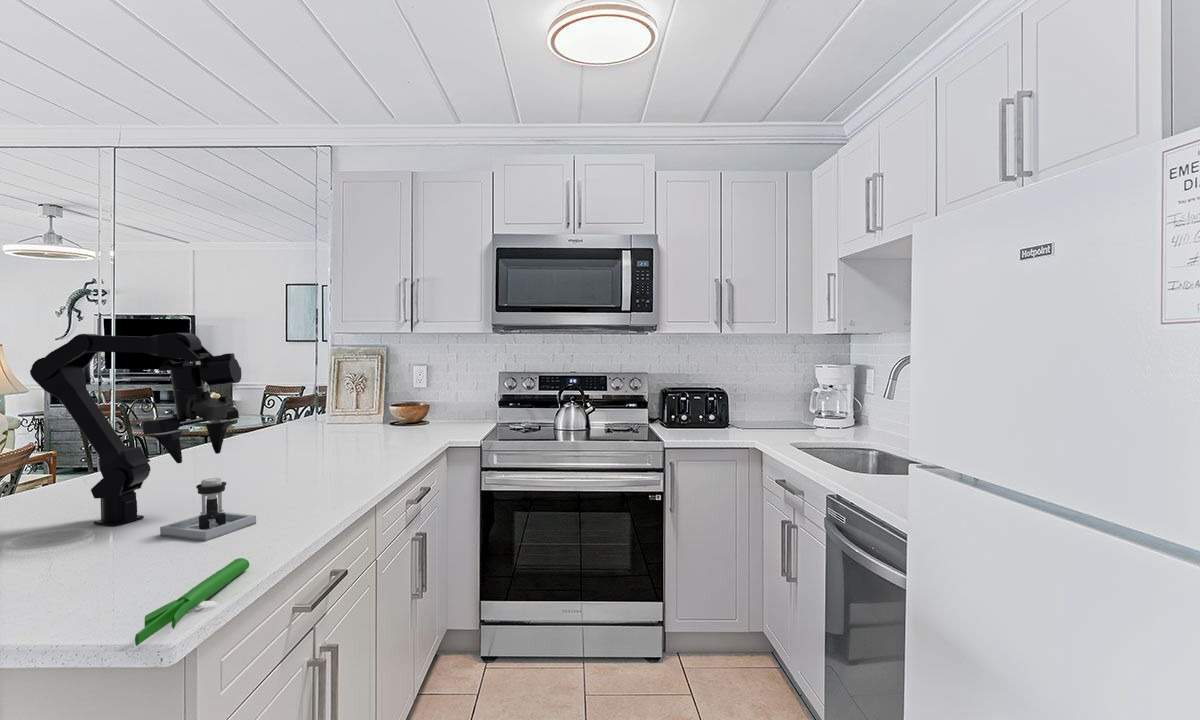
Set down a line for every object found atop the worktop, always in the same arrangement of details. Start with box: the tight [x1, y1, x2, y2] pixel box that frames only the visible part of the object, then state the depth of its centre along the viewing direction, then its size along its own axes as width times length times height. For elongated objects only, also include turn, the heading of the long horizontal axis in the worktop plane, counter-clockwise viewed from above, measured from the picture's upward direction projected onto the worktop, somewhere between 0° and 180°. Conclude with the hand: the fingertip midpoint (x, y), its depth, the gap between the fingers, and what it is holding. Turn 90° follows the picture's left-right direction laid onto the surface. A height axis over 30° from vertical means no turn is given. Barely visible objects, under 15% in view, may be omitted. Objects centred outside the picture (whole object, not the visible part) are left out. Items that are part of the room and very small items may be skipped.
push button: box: [189, 477, 227, 530], centre depth 127 cm, size 7×5×10 cm
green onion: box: [134, 557, 250, 647], centre depth 90 cm, size 5×3×30 cm
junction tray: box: [159, 511, 257, 542], centre depth 127 cm, size 12×12×2 cm
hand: (199, 458), depth 136 cm, fingers open, 9 cm apart
